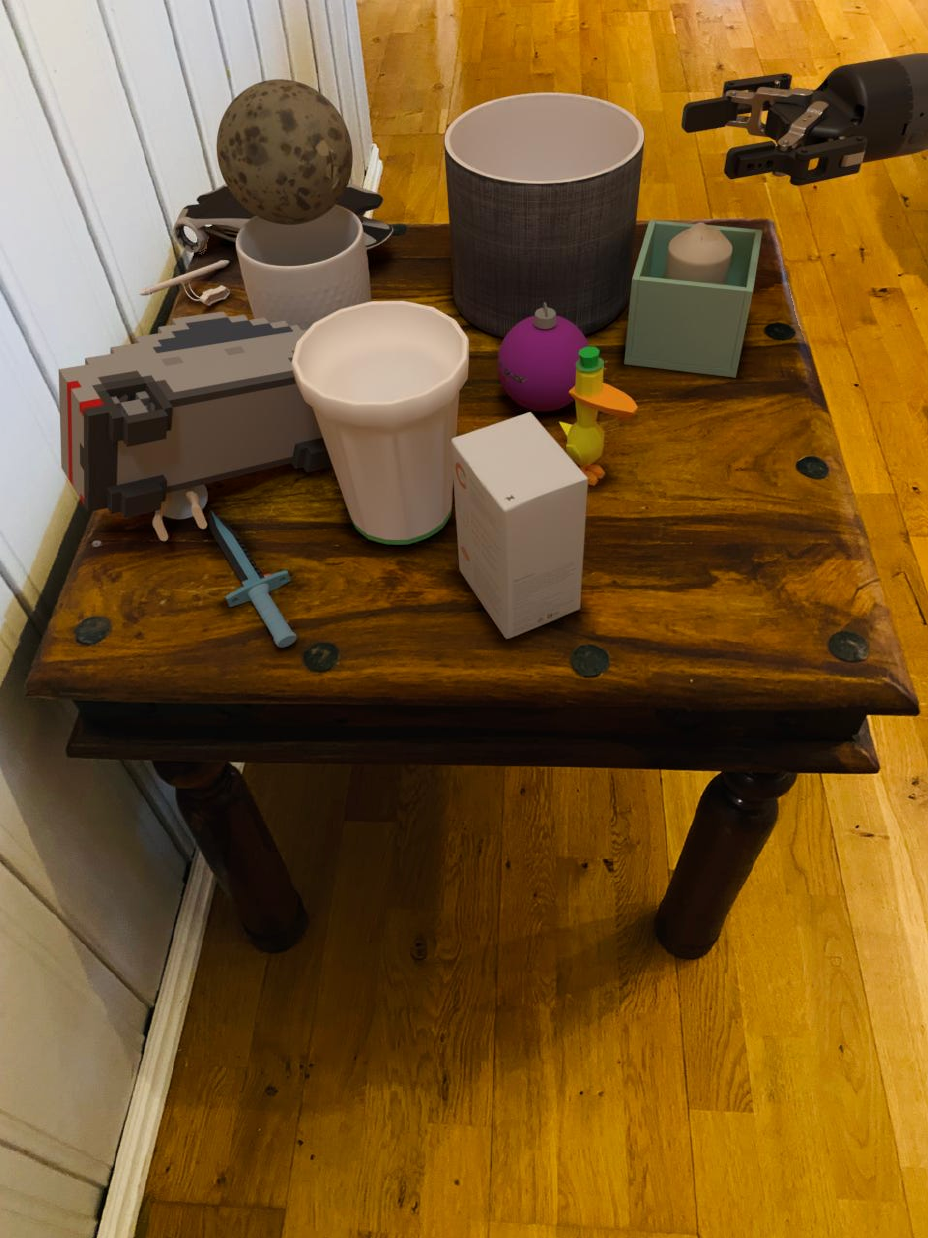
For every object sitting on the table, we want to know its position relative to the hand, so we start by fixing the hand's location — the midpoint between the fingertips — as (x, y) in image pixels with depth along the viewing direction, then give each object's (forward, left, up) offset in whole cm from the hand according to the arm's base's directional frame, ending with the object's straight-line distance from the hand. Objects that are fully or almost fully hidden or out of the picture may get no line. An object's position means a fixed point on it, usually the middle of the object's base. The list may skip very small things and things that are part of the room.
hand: (704, 140), depth 79 cm
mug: (+32, +9, -19) cm, 38 cm away
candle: (-1, -1, -18) cm, 18 cm away
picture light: (+48, +2, -17) cm, 51 cm away
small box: (+7, +34, -19) cm, 40 cm away
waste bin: (-1, 0, -19) cm, 19 cm away
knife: (+30, +39, -18) cm, 53 cm away
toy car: (+29, +31, -12) cm, 44 cm away
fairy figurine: (+33, +37, -15) cm, 52 cm away
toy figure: (+4, +21, -19) cm, 28 cm away
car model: (+43, -9, -14) cm, 46 cm away
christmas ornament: (+10, +12, -19) cm, 24 cm away
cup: (+19, +28, -19) cm, 38 cm away
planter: (+14, -5, -19) cm, 24 cm away
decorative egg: (+29, +13, +2) cm, 32 cm away
